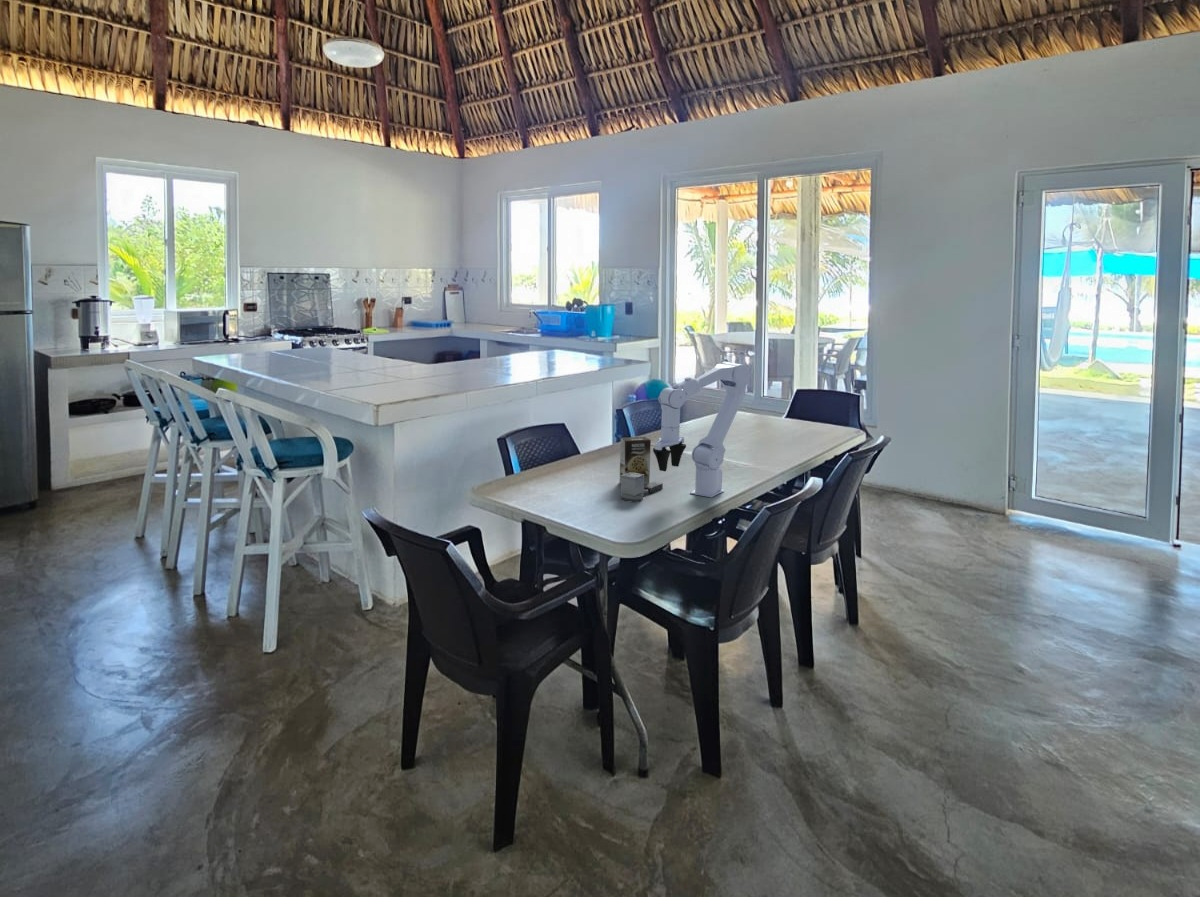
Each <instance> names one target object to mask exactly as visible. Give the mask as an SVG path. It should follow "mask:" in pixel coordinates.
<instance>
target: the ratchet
mask: <svg viewBox="0 0 1200 897" xmlns="http://www.w3.org/2000/svg"><path fill="white" fill-rule="evenodd" d="M663 484H664V483H663V482H658V481H652V482H649V484H647V485H644V493H642V494H639V495H637V496H631V495H626V494H621V493H620V496H621V497H620V498H621V501H623V500H624V502H627V501H632V502H631V503H637V502H636V501H638V502H641V500H642V501H643V500H644V497H645V496H648V495H651V494H654V493H656V492H660V490H663V489H664V488H663Z"/></svg>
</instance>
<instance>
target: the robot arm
mask: <svg viewBox="0 0 1200 897" xmlns="http://www.w3.org/2000/svg"><path fill="white" fill-rule="evenodd" d="M750 379H751V373H750V370H749V367H748V366H747V365H746V364H743V363H734V362H728V361H722V362H721V363H717V364H716V365H715V366H714V367H712V368H711V369H709V370H707V371H706V372H705V373H703V374H701V375H700V376H698V377H696V378H694V377H688V376H687V377H685V378H684V380H683V381H681V382H678V383H677V384H676V383H675V384H672V385H673V386H672V387H664V388H663V389H662V390H661V391H660V393H659V396H657V398H658V399H657V400H658V403H659V404H660V410H661V424H660V425H661V426H660V437H659V438H658V439H657V442H656V443H654V447H653V448H652V452H653V454H654V455H655V458H656V461H657V465H658V469H659V471H661V472H667V469H668V461H669V458H670V462H671V466H672V467H675V468H676V467H679V466H680V462H681V458H682V455H683V453H684V451H685V449H686V448H687V444H685V436H681V435H680V424H681V407H683V405H684V403H685V402H686V401H688V400H689V399H691V398H693V397H695V396H696V395H698V394H700V392H701V389H702V388H705V387H707V386H710V385H712V384H713V383H716V382H718V381H720V383H721V384H722V386H723V387H724V389H725V391H726V395H725V396H724V399H723V401H722V404H721V406H720V408H719V410H718V412H717V414H716V416H715V418H714V421H713V422H712V425H711V427H710V429H709V431H708V433H707V436H705V437H703V438H701V439H699V442H698V443H697V445H695V447H693V449H692V451H691V459H692V461H693V462H694V465H695V485H694V486H695V487H694V489H693V490H691V491H690V492H689V494H692V495H695V496H696V495H697V496H702V497H706V498H714V497H715V496H717V495H719V494H721V493H723V492H724V491H725V489H723V471H722V469H721V466H722V465H723V462H724V456H725V452H726V451H727V450H726V448H725V445H724V440H725V438H726V436H727V434H728V432H729V431H730V428H731V426H732V423H733V421H734V420H735V417H736V415H737V412H738V410H739V409H740V407H741V405H742V402H743V400H744V397H745V395H746V391H747V385H748V384H749V381H750ZM667 448H669V450H668V449H667Z"/></svg>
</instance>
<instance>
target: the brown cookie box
mask: <svg viewBox="0 0 1200 897" xmlns="http://www.w3.org/2000/svg"><path fill="white" fill-rule="evenodd" d="M651 441H652V440H651V439H650V438H648V437H647V436H632V437H631V436H630V437H629V436H628V437H627V436H626V437H620V456H619V458H620V460H619V484H621V475H623V474H626V473H629V472H633V473H639V474H644V485H647V484H649V483H650V477H651V476H650V474H651V472H650V471H651V468H650V467H651V443H652V442H651Z"/></svg>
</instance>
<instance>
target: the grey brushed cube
mask: <svg viewBox="0 0 1200 897" xmlns="http://www.w3.org/2000/svg"><path fill="white" fill-rule="evenodd" d="M642 493H644V474H639V473H633V472H629V473H626V474H623V475H621V483H620V495H621V494H626V495H631V496H637V495H639V494H642Z"/></svg>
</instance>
